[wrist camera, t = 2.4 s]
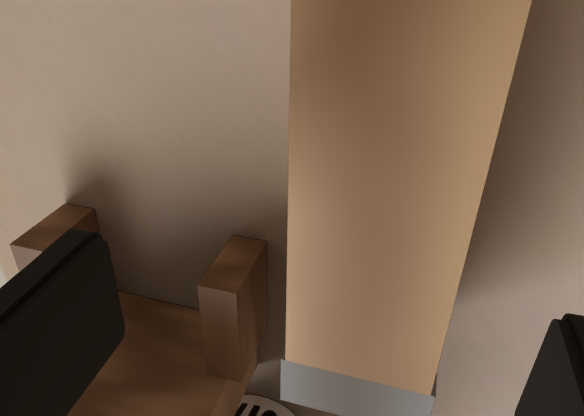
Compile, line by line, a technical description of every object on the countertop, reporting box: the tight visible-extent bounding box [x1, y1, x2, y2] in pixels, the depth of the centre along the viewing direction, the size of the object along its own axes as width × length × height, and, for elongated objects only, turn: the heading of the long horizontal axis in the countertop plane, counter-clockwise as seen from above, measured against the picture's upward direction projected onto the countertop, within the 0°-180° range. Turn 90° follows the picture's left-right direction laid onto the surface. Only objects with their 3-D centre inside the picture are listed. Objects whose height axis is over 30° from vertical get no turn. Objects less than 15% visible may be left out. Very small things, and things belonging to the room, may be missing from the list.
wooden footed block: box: [10, 204, 268, 416], centre depth 20 cm, size 10×8×11 cm
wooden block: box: [280, 0, 532, 416], centre depth 15 cm, size 5×14×6 cm, turn 179°
